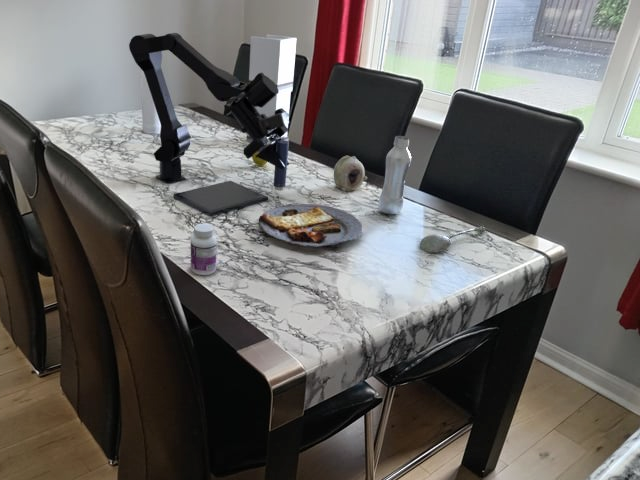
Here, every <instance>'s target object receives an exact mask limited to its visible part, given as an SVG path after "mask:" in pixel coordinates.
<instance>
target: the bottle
mask: <svg viewBox="0 0 640 480" xmlns="http://www.w3.org/2000/svg"><path fill="white" fill-rule="evenodd" d="M140 93H141V94H140V95H141V96H140V97H141V118H142V123H141V126H142V132H143V133H145V134H149V135H160V131H161V124H160V120H159V117H158V114H157V111H156V108H155V105H154V102H153V99H152V96H151V93H150V90H149V86H148V83H147V80H146V77H145V74H144V72H143V71H142V70H141V73H140Z"/></svg>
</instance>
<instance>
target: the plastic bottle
mask: <svg viewBox="0 0 640 480" xmlns="http://www.w3.org/2000/svg"><path fill="white" fill-rule="evenodd" d="M409 146H410V137H408V136H404V135H395V137H394V141H393V147H392V148H391V149H390V150H389V151H388V153H387V154H386V157H385V170H384V171H385V172H384V180H383V185H382V190H381V193H380V196H379V198H378V203H377V204H378V209H379V211H380V212H381V213H383V214H387V215H396V214H399V213H400V212H401V211H402V209H403V206H404V191H405V184H406V180H407V175H408V171H409V169H410V166H411V163H412V156H411V153H410V150H409V149H408V147H409Z"/></svg>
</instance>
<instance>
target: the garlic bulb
mask: <svg viewBox="0 0 640 480" xmlns="http://www.w3.org/2000/svg"><path fill="white" fill-rule="evenodd" d="M367 179H368V176H366V171H365V167H364V165H363V163H362V162H361V161H359V159H357V157H356V156H355V155H353V156H350V155H345V156H342V157H341V158H340V159H339V160H338V161H337V162H336V164H335V165H334V168H333V182H334V184H335V186H336V187H337V188H338V189H341V190H342V191H346V192H350V191H351V192H352V191H356V190H357V189H358V188H360V187H361V186H362V185H363V183H364V181H367Z"/></svg>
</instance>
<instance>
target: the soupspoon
mask: <svg viewBox="0 0 640 480" xmlns="http://www.w3.org/2000/svg"><path fill="white" fill-rule="evenodd" d="M472 232H479V233H480V234H484V233H485V232H486V227H485V226H484V225H481V226H479V227H474V228H470V229H466V230H463V231H459V232H455V233H452V234H449V235H447V236H446V235H443V234H437V233H435V234H429V235H426V236H425V237H423V238H422V239H421V240H420V242H419V246H420V248H421V249H422V251H424V252H427V253H431V254H437V253H441V252H443V251H444V250H446V249H448V248H449V247H450V246H451V245H452V238H455V237H458V236H460V235H463V234H467V233H472Z"/></svg>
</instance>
